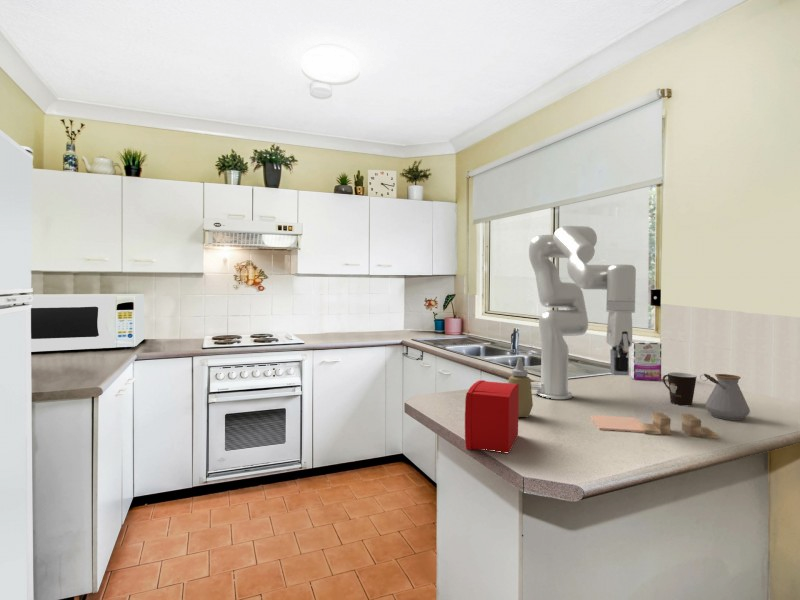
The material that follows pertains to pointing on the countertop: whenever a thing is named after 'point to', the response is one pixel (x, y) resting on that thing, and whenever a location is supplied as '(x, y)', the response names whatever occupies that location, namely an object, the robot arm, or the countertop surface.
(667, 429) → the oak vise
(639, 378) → the candy bar box
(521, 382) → the squeeze bottle
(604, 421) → the terracotta tile
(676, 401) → the coffee mug
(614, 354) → the metal block
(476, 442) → the red rounded box
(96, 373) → the countertop surface
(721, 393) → the coffee pot
